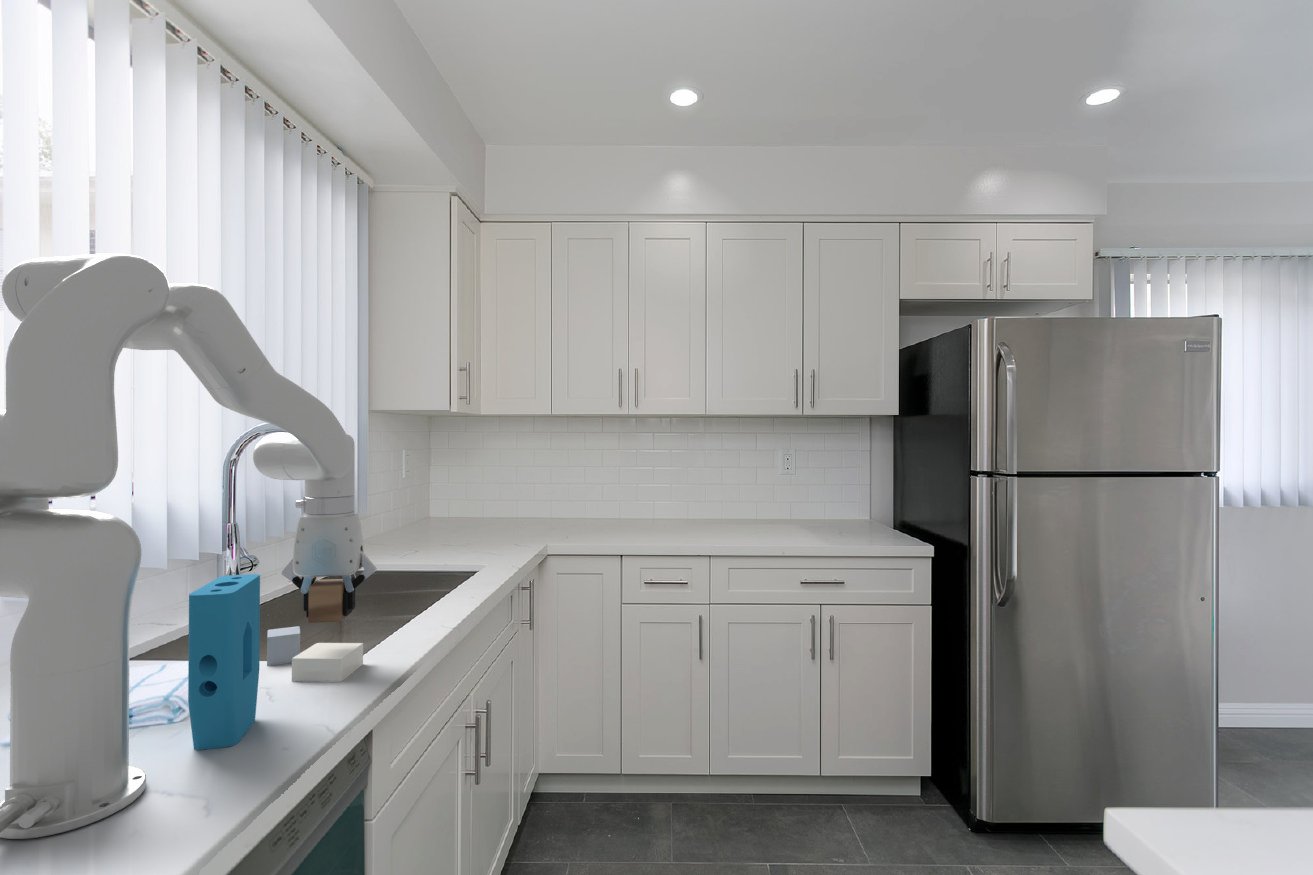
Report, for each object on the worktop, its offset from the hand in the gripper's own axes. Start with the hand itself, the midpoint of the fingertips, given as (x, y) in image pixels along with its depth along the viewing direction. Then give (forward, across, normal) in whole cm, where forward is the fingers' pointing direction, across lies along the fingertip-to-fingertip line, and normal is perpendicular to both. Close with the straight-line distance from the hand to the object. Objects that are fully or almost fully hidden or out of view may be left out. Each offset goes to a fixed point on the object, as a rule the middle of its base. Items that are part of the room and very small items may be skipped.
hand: (329, 613), depth 110 cm
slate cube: (+10, -10, +8) cm, 16 cm away
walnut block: (+1, 0, 0) cm, 1 cm away
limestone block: (+10, 0, 0) cm, 10 cm away
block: (+10, -6, -22) cm, 25 cm away
